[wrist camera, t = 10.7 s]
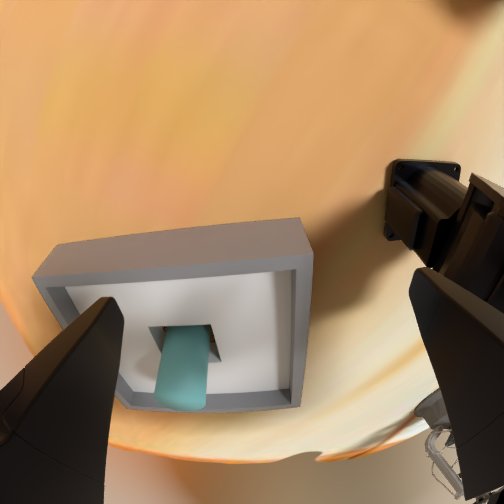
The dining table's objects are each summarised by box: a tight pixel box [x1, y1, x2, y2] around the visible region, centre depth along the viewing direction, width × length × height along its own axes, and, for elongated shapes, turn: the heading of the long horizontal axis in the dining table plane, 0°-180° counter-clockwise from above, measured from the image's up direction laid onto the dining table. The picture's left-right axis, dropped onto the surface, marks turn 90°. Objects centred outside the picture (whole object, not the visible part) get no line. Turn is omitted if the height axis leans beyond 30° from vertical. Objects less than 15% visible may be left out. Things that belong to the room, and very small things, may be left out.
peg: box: [154, 324, 211, 411], centre depth 22 cm, size 4×4×8 cm
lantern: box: [415, 388, 495, 504], centre depth 32 cm, size 18×20×30 cm
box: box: [32, 218, 314, 413], centre depth 24 cm, size 20×20×4 cm
